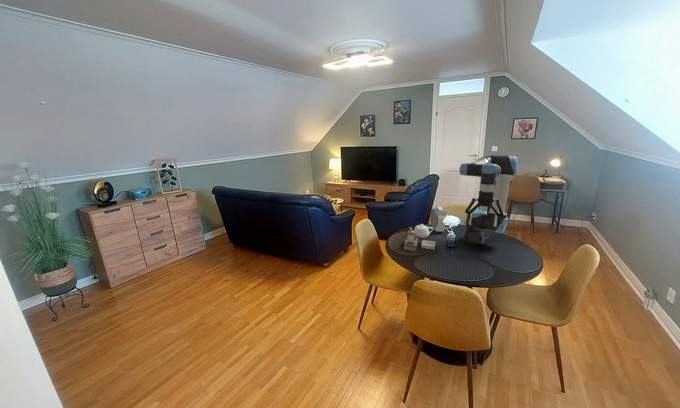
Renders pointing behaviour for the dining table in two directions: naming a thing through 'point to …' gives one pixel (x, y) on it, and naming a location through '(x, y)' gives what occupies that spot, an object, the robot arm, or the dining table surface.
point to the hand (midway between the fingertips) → (482, 225)
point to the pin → (410, 236)
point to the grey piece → (438, 219)
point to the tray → (428, 244)
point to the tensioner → (411, 246)
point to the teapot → (422, 231)
